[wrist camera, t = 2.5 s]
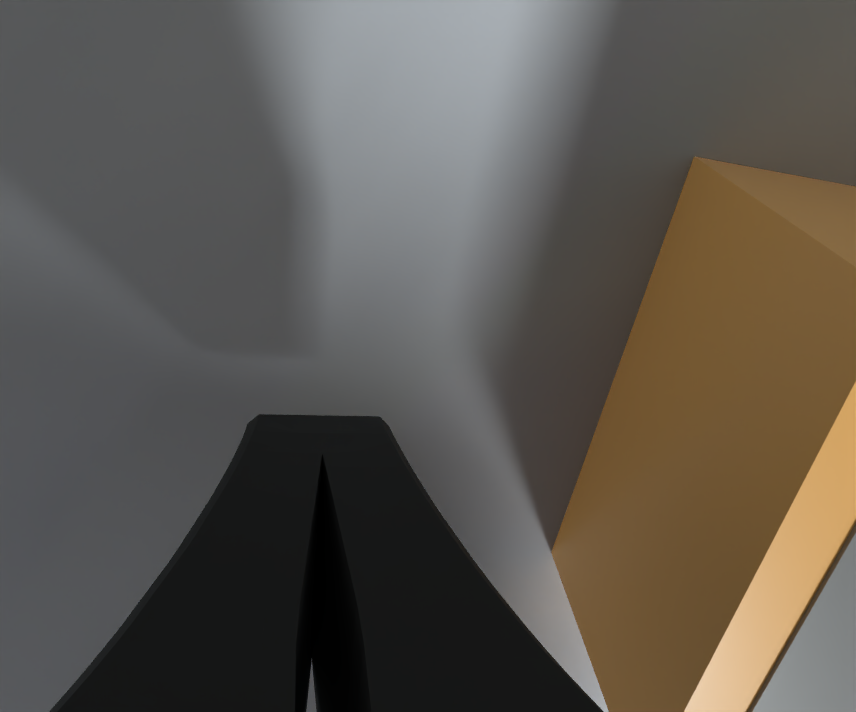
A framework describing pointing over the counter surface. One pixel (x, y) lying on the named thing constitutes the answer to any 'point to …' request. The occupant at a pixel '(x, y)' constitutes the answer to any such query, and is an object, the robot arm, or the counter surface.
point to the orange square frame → (728, 462)
